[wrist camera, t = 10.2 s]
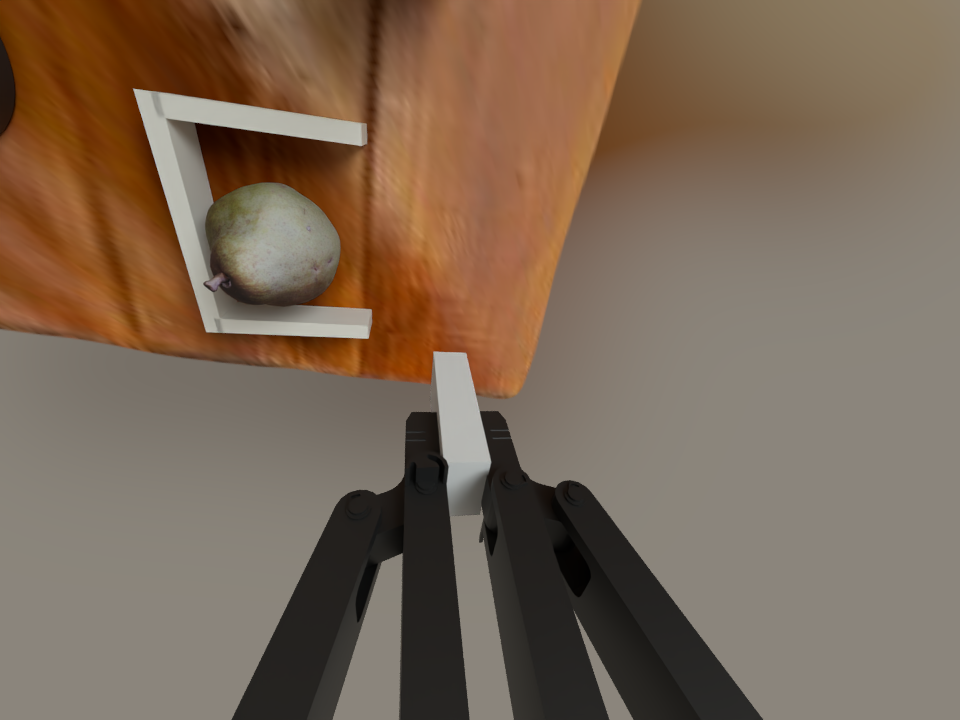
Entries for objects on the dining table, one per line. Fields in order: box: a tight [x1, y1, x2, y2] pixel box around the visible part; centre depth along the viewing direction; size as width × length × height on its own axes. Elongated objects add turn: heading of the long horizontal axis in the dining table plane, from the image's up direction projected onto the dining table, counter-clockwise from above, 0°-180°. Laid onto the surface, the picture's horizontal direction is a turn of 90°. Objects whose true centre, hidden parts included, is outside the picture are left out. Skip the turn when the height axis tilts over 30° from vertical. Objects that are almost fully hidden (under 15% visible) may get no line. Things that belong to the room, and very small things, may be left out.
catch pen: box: [134, 89, 372, 339], centre depth 33 cm, size 15×19×4 cm
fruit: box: [203, 183, 340, 307], centre depth 30 cm, size 10×9×12 cm
